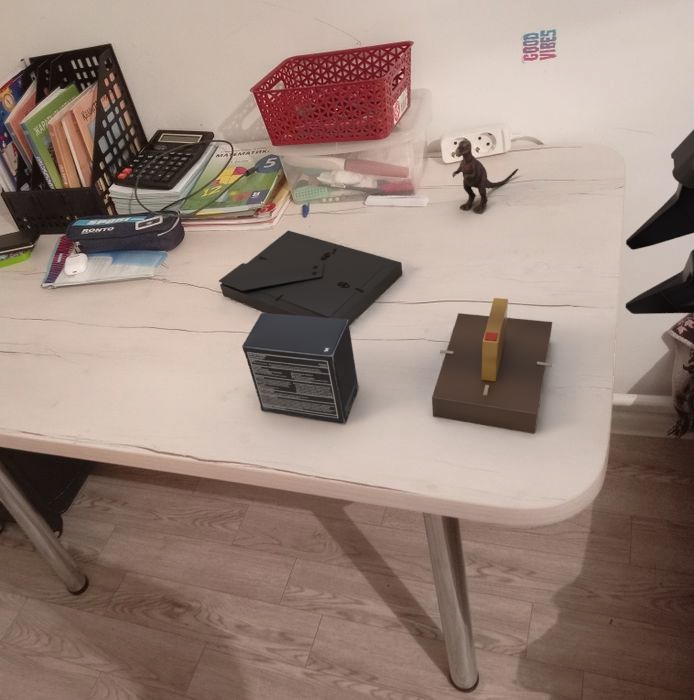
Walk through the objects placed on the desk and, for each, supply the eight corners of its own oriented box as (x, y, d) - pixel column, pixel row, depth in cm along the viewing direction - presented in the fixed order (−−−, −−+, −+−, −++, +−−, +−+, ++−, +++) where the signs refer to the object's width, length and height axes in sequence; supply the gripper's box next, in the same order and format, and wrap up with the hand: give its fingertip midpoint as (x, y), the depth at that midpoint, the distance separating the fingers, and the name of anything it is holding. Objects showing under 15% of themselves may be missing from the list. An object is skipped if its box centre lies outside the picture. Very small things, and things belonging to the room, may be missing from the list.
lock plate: (453, 331, 76) (452, 311, 74) (555, 342, 70) (558, 321, 68) (426, 415, 67) (425, 395, 65) (541, 435, 62) (544, 414, 60)
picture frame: (223, 295, 93) (333, 340, 80) (218, 280, 91) (330, 324, 78) (290, 241, 100) (402, 274, 86) (287, 226, 98) (401, 257, 84)
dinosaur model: (449, 143, 86) (508, 104, 92) (443, 217, 94) (498, 177, 100) (475, 149, 83) (534, 108, 90) (467, 225, 91) (522, 183, 97)
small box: (361, 384, 73) (351, 316, 66) (346, 425, 69) (333, 357, 62) (278, 373, 78) (261, 309, 71) (259, 411, 74) (239, 347, 67)
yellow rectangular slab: (492, 336, 69) (494, 295, 66) (505, 337, 69) (508, 297, 65) (481, 379, 65) (482, 339, 61) (495, 381, 64) (497, 341, 61)
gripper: (760, 38, 48) (574, 164, 60) (800, 161, 37) (561, 286, 49) (845, 133, 50) (648, 237, 62) (907, 278, 39) (652, 369, 51)
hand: (628, 275), depth 56 cm, fingers open, 9 cm apart
